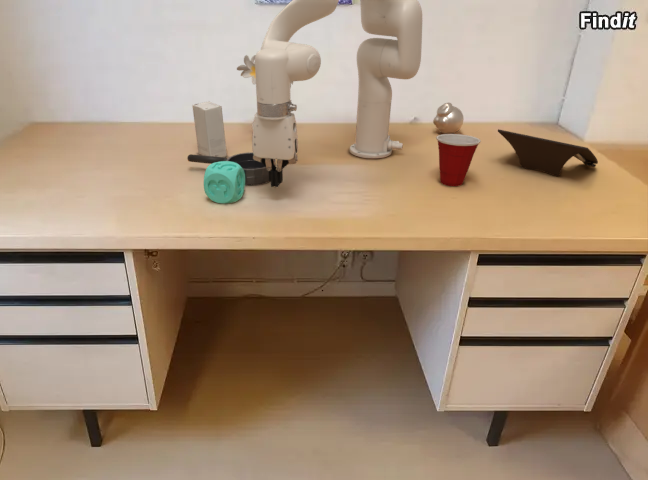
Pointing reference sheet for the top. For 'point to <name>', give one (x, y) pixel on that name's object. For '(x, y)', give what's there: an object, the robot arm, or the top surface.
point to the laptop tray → (546, 153)
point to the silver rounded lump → (448, 119)
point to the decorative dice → (224, 182)
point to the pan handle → (205, 159)
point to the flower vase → (250, 70)
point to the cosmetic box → (209, 129)
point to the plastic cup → (455, 157)
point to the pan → (251, 168)
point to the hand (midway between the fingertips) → (276, 184)
